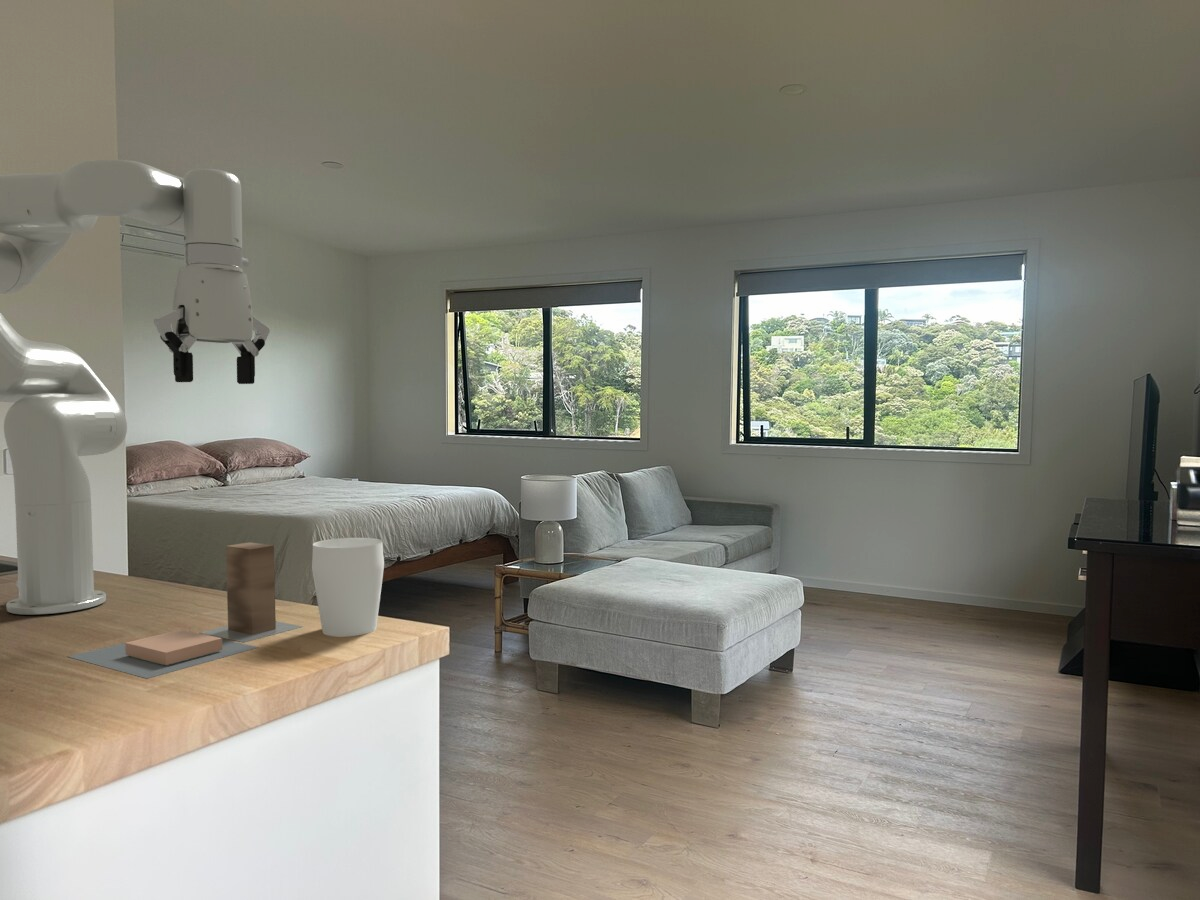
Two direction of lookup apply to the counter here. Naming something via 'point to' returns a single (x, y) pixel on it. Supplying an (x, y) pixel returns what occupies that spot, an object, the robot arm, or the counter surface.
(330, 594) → the cup
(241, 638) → the coaster
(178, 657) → the tile
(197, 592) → the counter surface
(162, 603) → the counter surface
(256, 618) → the bar
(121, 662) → the mat
